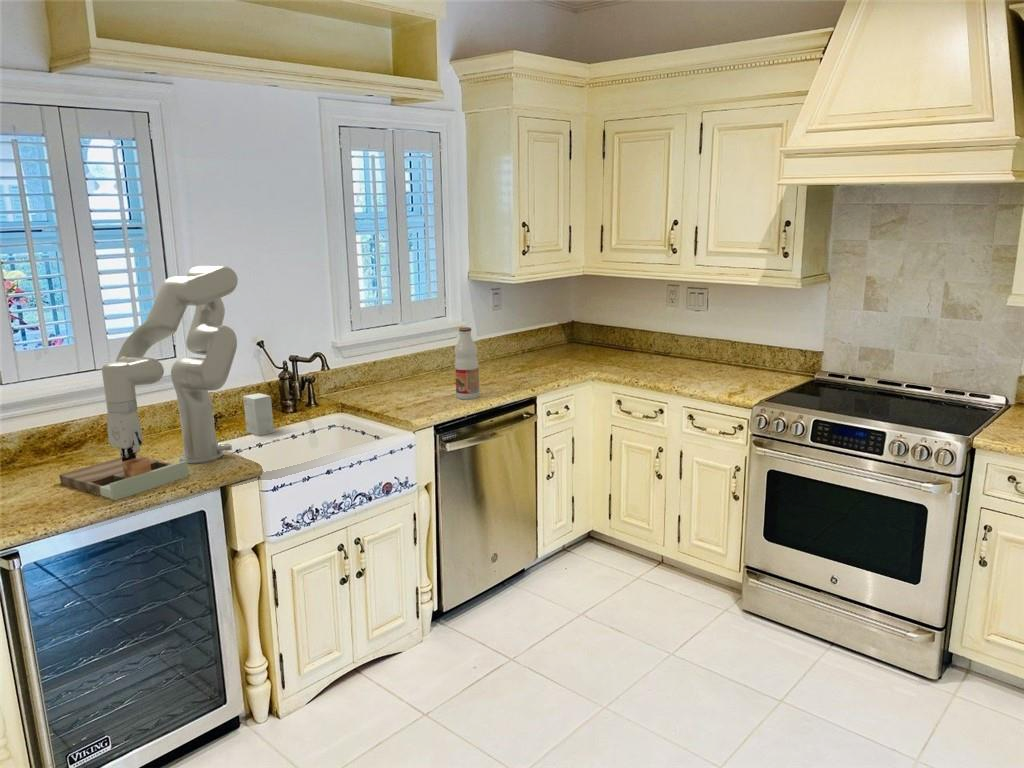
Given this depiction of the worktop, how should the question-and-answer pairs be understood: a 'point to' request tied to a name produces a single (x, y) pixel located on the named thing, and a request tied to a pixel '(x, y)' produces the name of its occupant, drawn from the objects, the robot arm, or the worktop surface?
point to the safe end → (145, 481)
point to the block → (136, 466)
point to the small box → (258, 414)
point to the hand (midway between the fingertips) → (130, 469)
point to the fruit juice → (466, 366)
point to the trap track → (101, 474)
